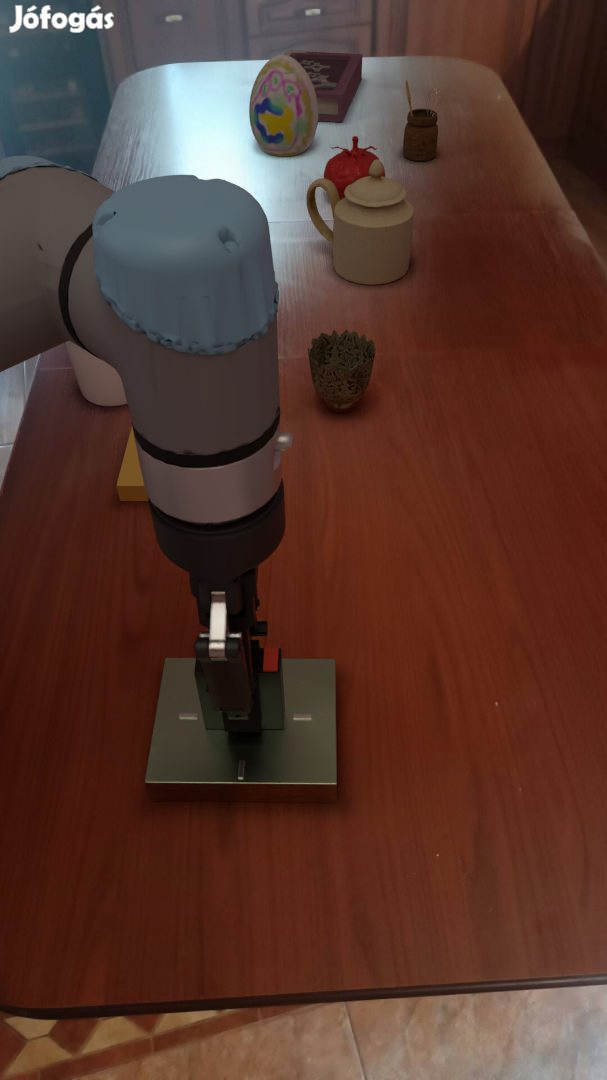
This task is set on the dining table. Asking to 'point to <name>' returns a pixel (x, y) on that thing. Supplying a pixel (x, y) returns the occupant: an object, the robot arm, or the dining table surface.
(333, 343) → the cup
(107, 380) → the white paper cup
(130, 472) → the button block
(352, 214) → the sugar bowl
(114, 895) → the dining table surface
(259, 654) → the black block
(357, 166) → the red tomato
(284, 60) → the decorative egg
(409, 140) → the utensil holder
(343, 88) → the book
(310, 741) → the control panel
